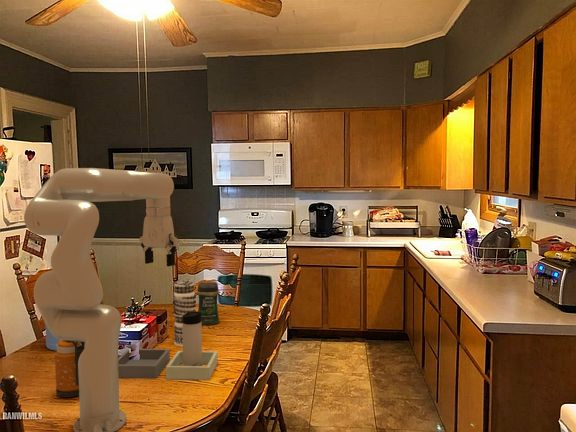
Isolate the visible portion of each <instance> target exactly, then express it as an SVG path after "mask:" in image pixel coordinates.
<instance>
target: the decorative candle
mask: <svg viewBox="0 0 576 432" xmlns="http://www.w3.org/2000/svg"><path fill="white" fill-rule="evenodd" d="M173 286H174V292H173V297H172V301H173V302H172V305H174V306H173V308H172V309H173V311H172V312H173V315H174V319H175V320H174V325H173V328H174V330H173V332H174V334H173V337H174V338H173V341H174V342H173V343H174V345H175V346H179V347H183V331H182V325H183V324H182V321H183V319H182V318H183V315H185V314H186V313H189V312H195V311H197V310H196V309H195V308H196V307H197V304H196V303H197V301H196V298H197V294H196V293H197V292H195V282H194V281H193V280H191V279H190V278H189V279H187V278H186V279H185V278H182V279H178V280H177V281H176V282H175V283H174V284H173Z"/></svg>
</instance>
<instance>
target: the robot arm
mask: <svg viewBox="0 0 576 432" xmlns="http://www.w3.org/2000/svg"><path fill="white" fill-rule="evenodd" d="M174 190H175V184H174V180H173V178H172V177H171V176H170V174H167V173H161V172H145V171H135V170H127V169H126V170H125V169H124V170H123V169H112V168H111V169H109V168H96V167H76V168H75V167H74V168H73V167H69V168H67V167H66V168H61V169H59V170H58V171H56V172H54V173H53V174H52V176H51V177H49V178H48V179H47V181H46V182H45V183H44V184H43V185H42V186H41V188H40V189H39V190H38V191H37V193H36V194H35V195H34V196H33V197H32V199H31V200H30V202H29V203H28V204H27V206H26V208H25V210H24V216H23V221H24V225H25V227H26V229H27V230H28V231H29V232H31V233H32V234H34V235H39V236H56V237H57V236H60V239H59V241H58V242H57V244H56V246H55V248H54V249H53V251H52V253H51V257H50V266H51V269H52V270H48V271H45V272H44V273H42V274H41V275H39V276H38V278H37V279H36V281H35V283H34V287H33V300H34V302H35V305H36V308H37V309H38V312H39V313H40V315H41V317H42V320H43V321H44V324H45V323H46V325H47V327H48V329H49V331H50V332H51V334H52V335H53V336H54V337H56V338H57V339H60V340H67V341H80V342H85V343H86V347H85V349H84V350H83V352H82V353H81V355H80V357H79V360H78V374H79V395H78V400H79V402H78V403H79V418H77V419H76V420H75V421H74V423H73V432H116V431H119V430H120V429H121V428H122V427H123V426H124V425H125V423H126V422H127V414H126V413H125V411H123V410H121V409H120V378H119V372H118V358H119V341H120V334H121V328H122V315H121V313H120V311H119V310H118V309H117V308H116V307H114V306H112V305H107V304H104V303H103V304H102V301H103V299H104V290H103V289H104V288H103V286H102V283H101V280H100V278H99V276H98V272H97V270H96V268H95V265H94V262H93V259H92V257H91V246H92V244H93V243H92V242H93V240H94V239H93V238H94V236H95V234H96V232H97V228H98V226H99V223H100V212H99V209H98V208H97V206H96V204H94V203H96V202H97V203H98V202H99V203H101V202H119V201H120V202H123V201H135V200H137V201H138V200H145V204H146V206H145V207H146V209H145V212H146V216H145V217H144V220H143V227H142V228H143V229H142V236H140V237H139V239H138V240H139V242H140V246H141V248H142V250H143V252H144V264H146V265H147V264H149V265H150V264H152V263H154V250H153V249H165V251H166V253H167V254H166V256H165V257H166V267H173V266H175V265H176V254H177V251H178V250H179V247H180V244H181V240H180V239H178V238H177V237H176V236H175V229H174V223H173V217H172V216H171V195H172V194H173V192H174ZM93 202H94V203H93Z"/></svg>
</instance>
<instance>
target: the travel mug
mask: <svg viewBox="0 0 576 432" xmlns="http://www.w3.org/2000/svg"><path fill="white" fill-rule="evenodd" d="M201 315H202V312H199V311H198V310H196V311H195V312H189V313H186V314H185V315H183V318H182V319H183V321H182V324H183V325H182V331H183V346H182V351H183V363H182V366H203V363H202V351H203V339H202V338H203V337H202V336H203V335H202V331H203V329H202V326H203V325H202V324H201Z"/></svg>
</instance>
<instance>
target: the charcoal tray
mask: <svg viewBox="0 0 576 432" xmlns="http://www.w3.org/2000/svg"><path fill="white" fill-rule="evenodd" d="M138 349H139V354H140V359H139V360H129V350H125V351H124V352H123V353H122V354H121V355H119V356H118V372H119V379H157V378H158V377H159V375H160V374H161V372H162V371H163V370H164V369H165V368H166V367H167V365H168V364H169V363H170V361H171V352H170V351H171V349H170V348H138Z"/></svg>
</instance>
